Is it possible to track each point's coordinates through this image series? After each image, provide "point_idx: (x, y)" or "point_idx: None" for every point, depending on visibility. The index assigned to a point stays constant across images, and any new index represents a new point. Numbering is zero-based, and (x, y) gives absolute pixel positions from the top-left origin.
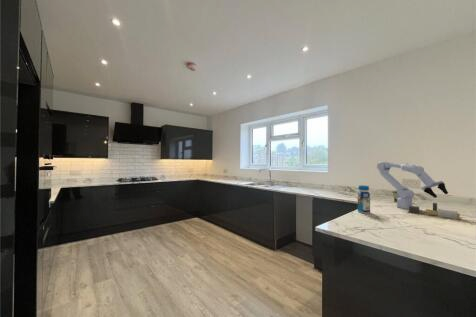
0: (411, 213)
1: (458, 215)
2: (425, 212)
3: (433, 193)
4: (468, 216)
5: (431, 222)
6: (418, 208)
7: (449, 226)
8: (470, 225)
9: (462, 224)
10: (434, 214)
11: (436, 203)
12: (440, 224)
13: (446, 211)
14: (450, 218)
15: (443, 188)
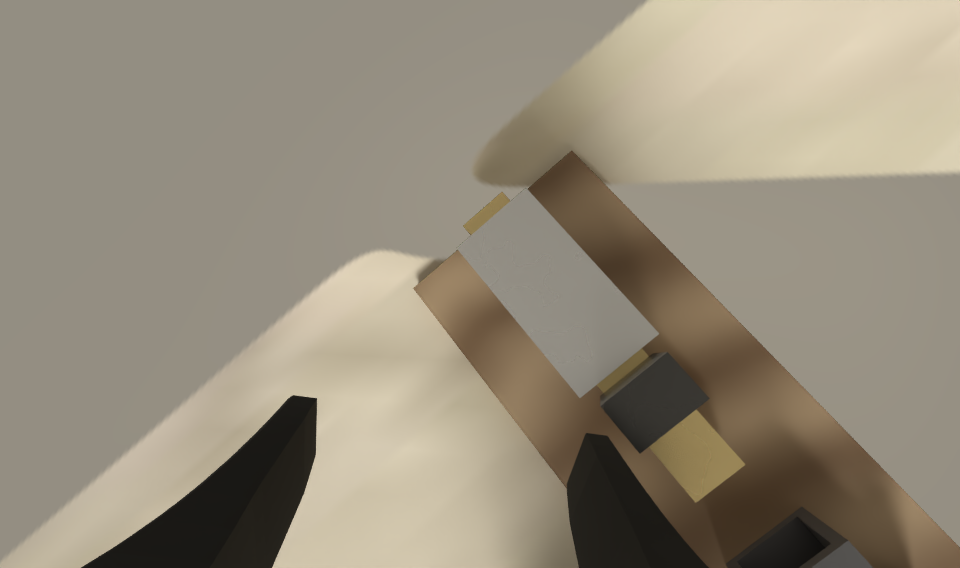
0: (923, 529)
1: None
2: None
3: (652, 506)
4: (238, 381)
5: (947, 143)
6: (827, 541)
7: (863, 7)
8: (582, 65)
9: (629, 91)
10: None
11: (649, 375)
12: (902, 70)
13: (594, 264)
14: (582, 245)
15: (247, 523)
